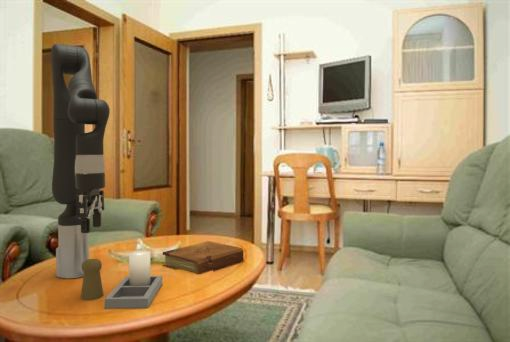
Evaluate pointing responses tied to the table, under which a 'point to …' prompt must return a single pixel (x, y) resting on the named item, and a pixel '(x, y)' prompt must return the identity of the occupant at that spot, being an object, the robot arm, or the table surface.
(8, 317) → the table surface
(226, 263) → the diary
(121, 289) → the tray
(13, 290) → the table surface
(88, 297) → the cork
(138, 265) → the cylinder
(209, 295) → the table surface
